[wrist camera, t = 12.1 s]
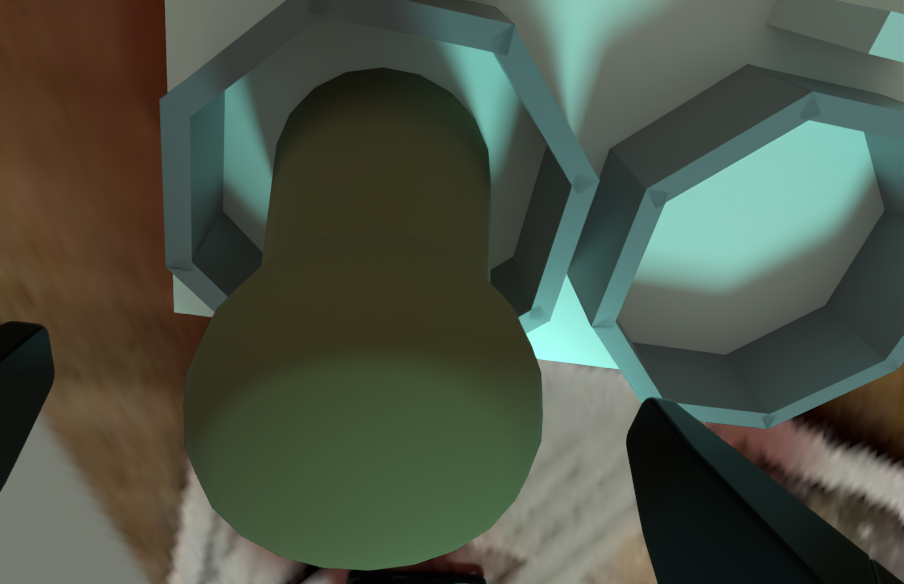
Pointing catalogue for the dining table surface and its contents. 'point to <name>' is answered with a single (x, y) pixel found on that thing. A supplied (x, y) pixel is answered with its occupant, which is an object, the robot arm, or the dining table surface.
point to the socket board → (600, 173)
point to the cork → (368, 342)
